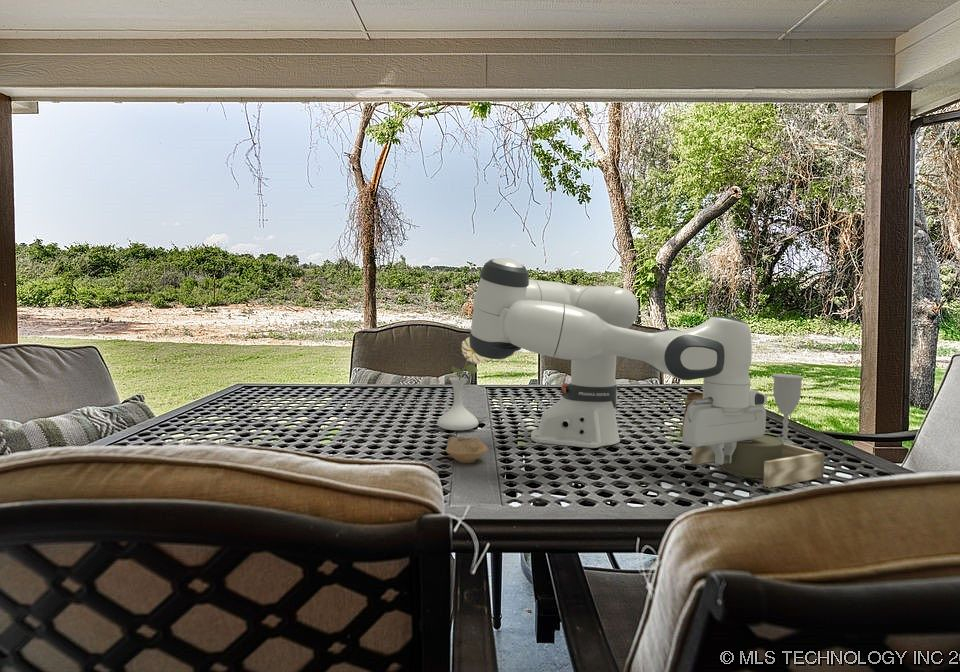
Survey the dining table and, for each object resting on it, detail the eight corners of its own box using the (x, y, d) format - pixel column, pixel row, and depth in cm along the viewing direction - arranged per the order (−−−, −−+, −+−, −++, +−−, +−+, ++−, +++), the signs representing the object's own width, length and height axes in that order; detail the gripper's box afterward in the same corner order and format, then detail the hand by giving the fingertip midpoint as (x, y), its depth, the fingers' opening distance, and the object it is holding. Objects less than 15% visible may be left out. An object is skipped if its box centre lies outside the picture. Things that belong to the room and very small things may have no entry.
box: (767, 488, 115) (769, 462, 115) (691, 463, 132) (692, 441, 132) (823, 477, 123) (824, 453, 123) (744, 455, 140) (745, 433, 140)
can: (795, 476, 124) (797, 443, 123) (750, 481, 119) (752, 447, 119) (749, 461, 135) (751, 430, 134) (707, 465, 130) (708, 434, 130)
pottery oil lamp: (467, 448, 141) (480, 424, 139) (480, 479, 130) (495, 453, 129) (434, 438, 138) (447, 413, 136) (444, 469, 127) (459, 442, 125)
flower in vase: (445, 435, 156) (446, 339, 155) (431, 426, 167) (431, 336, 165) (491, 431, 161) (492, 338, 160) (474, 423, 172) (475, 335, 170)
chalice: (804, 454, 142) (808, 378, 140) (773, 452, 143) (776, 377, 142) (794, 447, 149) (798, 374, 148) (765, 445, 150) (768, 373, 149)
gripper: (701, 402, 115) (698, 473, 115) (772, 395, 124) (769, 462, 125) (676, 396, 120) (673, 465, 121) (746, 391, 130) (744, 454, 130)
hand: (723, 463), depth 123 cm, fingers closed
